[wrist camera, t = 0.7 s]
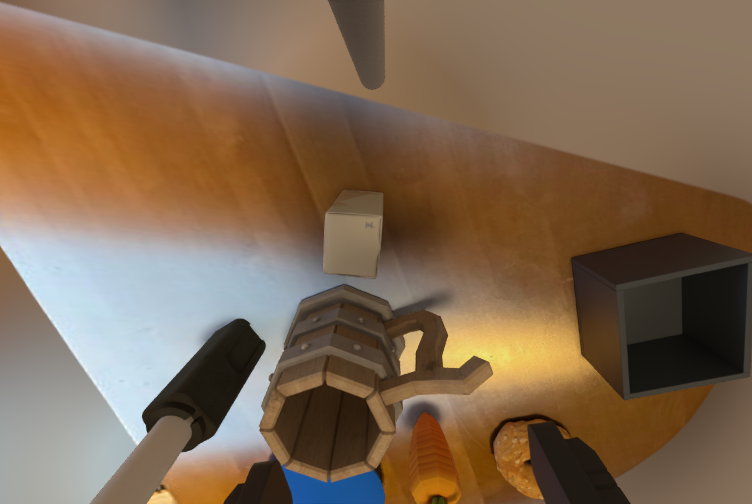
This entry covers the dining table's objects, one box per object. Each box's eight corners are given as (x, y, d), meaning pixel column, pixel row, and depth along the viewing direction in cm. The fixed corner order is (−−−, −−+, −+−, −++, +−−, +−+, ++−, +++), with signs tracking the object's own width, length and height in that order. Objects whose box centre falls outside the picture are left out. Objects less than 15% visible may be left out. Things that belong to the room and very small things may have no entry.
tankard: (319, 396, 43) (287, 521, 29) (273, 310, 40) (210, 403, 26) (475, 344, 41) (524, 453, 26) (438, 247, 37) (471, 311, 23)
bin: (571, 257, 37) (616, 285, 30) (682, 232, 36) (756, 254, 29) (581, 354, 41) (624, 400, 33) (683, 334, 40) (750, 377, 32)
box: (342, 188, 36) (324, 207, 25) (384, 192, 36) (384, 212, 25) (339, 238, 37) (321, 275, 27) (380, 241, 37) (377, 280, 27)
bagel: (527, 397, 43) (544, 428, 38) (590, 443, 44) (613, 477, 40) (471, 448, 45) (481, 482, 41) (533, 489, 47) (549, 526, 42)
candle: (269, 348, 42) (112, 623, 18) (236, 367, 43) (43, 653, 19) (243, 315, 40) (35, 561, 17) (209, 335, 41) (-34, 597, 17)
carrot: (446, 397, 43) (477, 524, 29) (442, 430, 44) (470, 566, 30) (406, 395, 43) (415, 521, 29) (403, 428, 45) (412, 563, 30)
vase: (401, 504, 48) (403, 562, 42) (296, 529, 50) (282, 589, 44) (360, 415, 44) (356, 463, 37) (248, 446, 46) (224, 498, 39)
